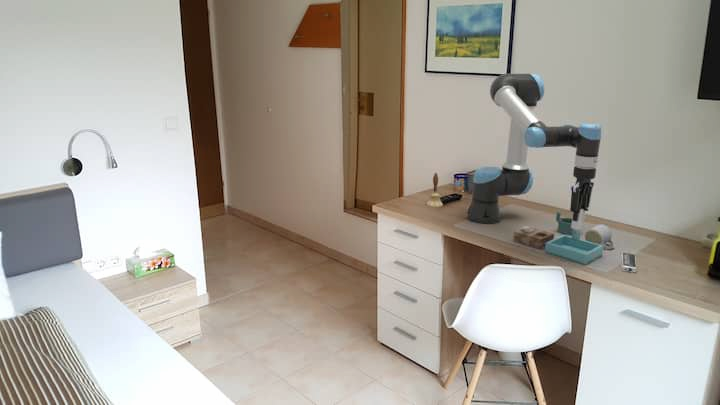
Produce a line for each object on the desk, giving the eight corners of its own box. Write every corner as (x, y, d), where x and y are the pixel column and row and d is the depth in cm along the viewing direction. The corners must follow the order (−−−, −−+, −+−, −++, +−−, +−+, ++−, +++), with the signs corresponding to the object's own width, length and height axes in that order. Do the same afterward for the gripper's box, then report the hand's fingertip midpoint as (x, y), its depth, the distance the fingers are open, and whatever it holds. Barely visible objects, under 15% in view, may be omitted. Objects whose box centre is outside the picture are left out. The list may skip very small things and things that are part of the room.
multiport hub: (634, 260, 201) (635, 254, 201) (635, 274, 189) (636, 268, 188) (621, 257, 203) (622, 252, 202) (621, 271, 190) (622, 265, 190)
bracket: (582, 233, 228) (585, 213, 226) (568, 236, 224) (571, 216, 221) (565, 227, 236) (568, 207, 233) (551, 230, 231) (553, 210, 229)
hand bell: (440, 208, 260) (442, 176, 256) (423, 205, 264) (425, 174, 259) (445, 203, 268) (447, 172, 263) (429, 201, 271) (430, 170, 267)
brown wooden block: (513, 240, 218) (514, 229, 217) (526, 235, 225) (527, 224, 223) (540, 249, 210) (541, 237, 208) (553, 243, 216) (554, 231, 215)
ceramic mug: (582, 243, 216) (585, 225, 214) (593, 239, 221) (595, 222, 219) (607, 252, 208) (610, 233, 206) (618, 247, 213) (621, 229, 211)
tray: (544, 252, 206) (545, 242, 205) (562, 244, 215) (563, 234, 214) (585, 264, 195) (586, 254, 194) (602, 255, 204) (603, 245, 203)
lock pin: (569, 241, 204) (574, 208, 200) (573, 239, 205) (577, 207, 202) (577, 243, 202) (581, 210, 198) (580, 241, 203) (585, 208, 200)
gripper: (585, 171, 188) (576, 234, 194) (605, 165, 198) (596, 225, 204) (565, 168, 193) (557, 229, 199) (585, 162, 203) (577, 221, 210)
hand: (577, 227), depth 202 cm, fingers closed on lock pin, 3 cm apart
